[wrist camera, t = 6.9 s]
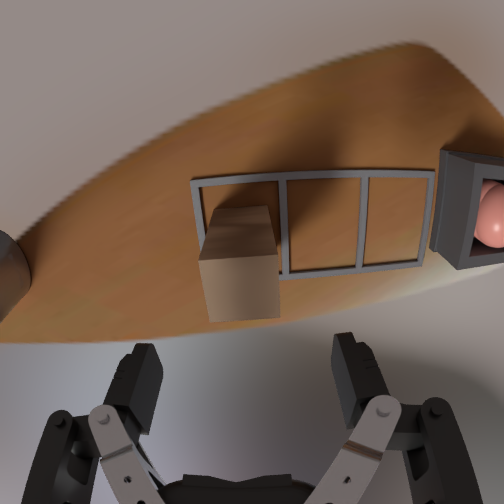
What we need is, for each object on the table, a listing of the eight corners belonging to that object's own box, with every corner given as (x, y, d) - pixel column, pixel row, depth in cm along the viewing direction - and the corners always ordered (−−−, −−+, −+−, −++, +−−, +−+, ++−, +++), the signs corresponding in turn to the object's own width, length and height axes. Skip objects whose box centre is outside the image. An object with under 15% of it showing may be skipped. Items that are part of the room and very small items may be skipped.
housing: (428, 247, 26) (454, 272, 22) (440, 149, 22) (473, 160, 18) (491, 241, 26) (516, 261, 22) (504, 157, 22) (535, 169, 17)
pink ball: (453, 233, 24) (489, 262, 19) (461, 174, 22) (503, 193, 16) (490, 231, 24) (525, 256, 19) (499, 177, 22) (538, 196, 16)
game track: (206, 284, 28) (206, 285, 27) (190, 180, 23) (189, 180, 23) (420, 264, 27) (421, 266, 27) (433, 170, 23) (434, 171, 23)
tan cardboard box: (220, 256, 26) (210, 322, 18) (214, 209, 25) (198, 260, 16) (270, 253, 26) (280, 317, 18) (267, 205, 24) (278, 254, 16)
